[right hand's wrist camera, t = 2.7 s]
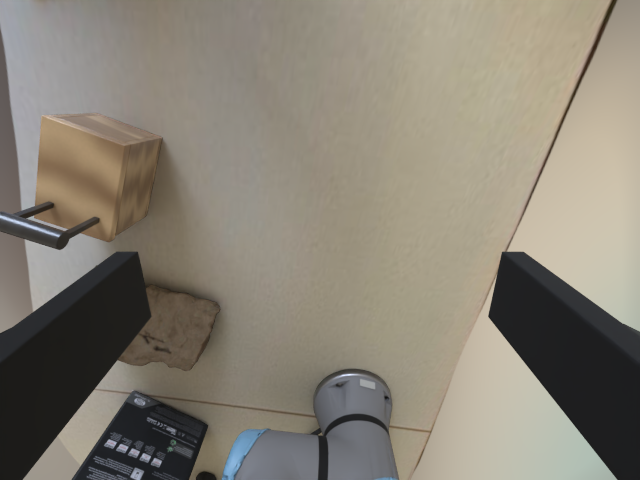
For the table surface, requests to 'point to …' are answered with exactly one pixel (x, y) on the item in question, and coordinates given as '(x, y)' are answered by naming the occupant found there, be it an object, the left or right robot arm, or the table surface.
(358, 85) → the table surface
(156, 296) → the stone
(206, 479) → the robot
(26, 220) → the lid
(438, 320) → the table surface
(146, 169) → the chest
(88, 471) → the graphics card box
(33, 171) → the table surface
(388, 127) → the table surface
